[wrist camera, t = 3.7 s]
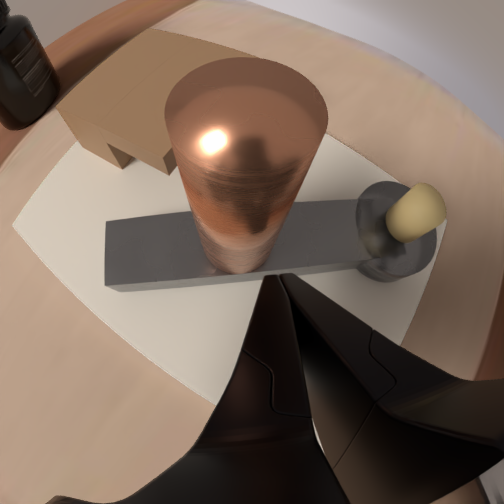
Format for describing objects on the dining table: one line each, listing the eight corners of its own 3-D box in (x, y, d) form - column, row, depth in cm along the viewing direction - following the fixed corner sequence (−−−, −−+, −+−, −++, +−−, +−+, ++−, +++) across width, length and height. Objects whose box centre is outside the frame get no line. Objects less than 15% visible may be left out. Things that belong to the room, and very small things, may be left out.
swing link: (405, 196, 16) (510, 95, 6) (425, 276, 15) (565, 213, 5) (120, 217, 15) (18, 85, 5) (121, 312, 13) (-35, 266, 4)
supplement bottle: (49, 70, 20) (9, -14, 8) (72, 91, 19) (23, -15, 7) (-1, 116, 18) (-56, 41, 6) (14, 145, 17) (-59, 55, 5)
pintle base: (439, 225, 17) (495, 188, 11) (322, 456, 13) (363, 506, 7) (168, 69, 19) (157, 10, 14) (20, 230, 15) (-35, 194, 9)
